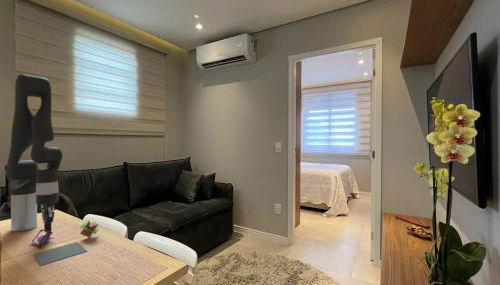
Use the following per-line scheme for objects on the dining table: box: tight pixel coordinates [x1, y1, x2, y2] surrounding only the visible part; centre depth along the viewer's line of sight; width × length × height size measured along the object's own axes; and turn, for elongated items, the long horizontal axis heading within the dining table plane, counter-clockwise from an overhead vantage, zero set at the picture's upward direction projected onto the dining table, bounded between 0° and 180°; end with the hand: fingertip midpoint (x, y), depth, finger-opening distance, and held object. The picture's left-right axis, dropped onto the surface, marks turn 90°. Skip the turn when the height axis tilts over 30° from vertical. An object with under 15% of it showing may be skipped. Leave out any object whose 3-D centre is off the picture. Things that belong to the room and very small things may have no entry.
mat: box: [33, 241, 88, 267], centre depth 92 cm, size 13×14×1 cm
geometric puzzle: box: [79, 219, 99, 238], centre depth 106 cm, size 7×7×8 cm
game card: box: [28, 229, 55, 249], centre depth 100 cm, size 7×5×9 cm
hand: (47, 231), depth 104 cm, fingers closed
